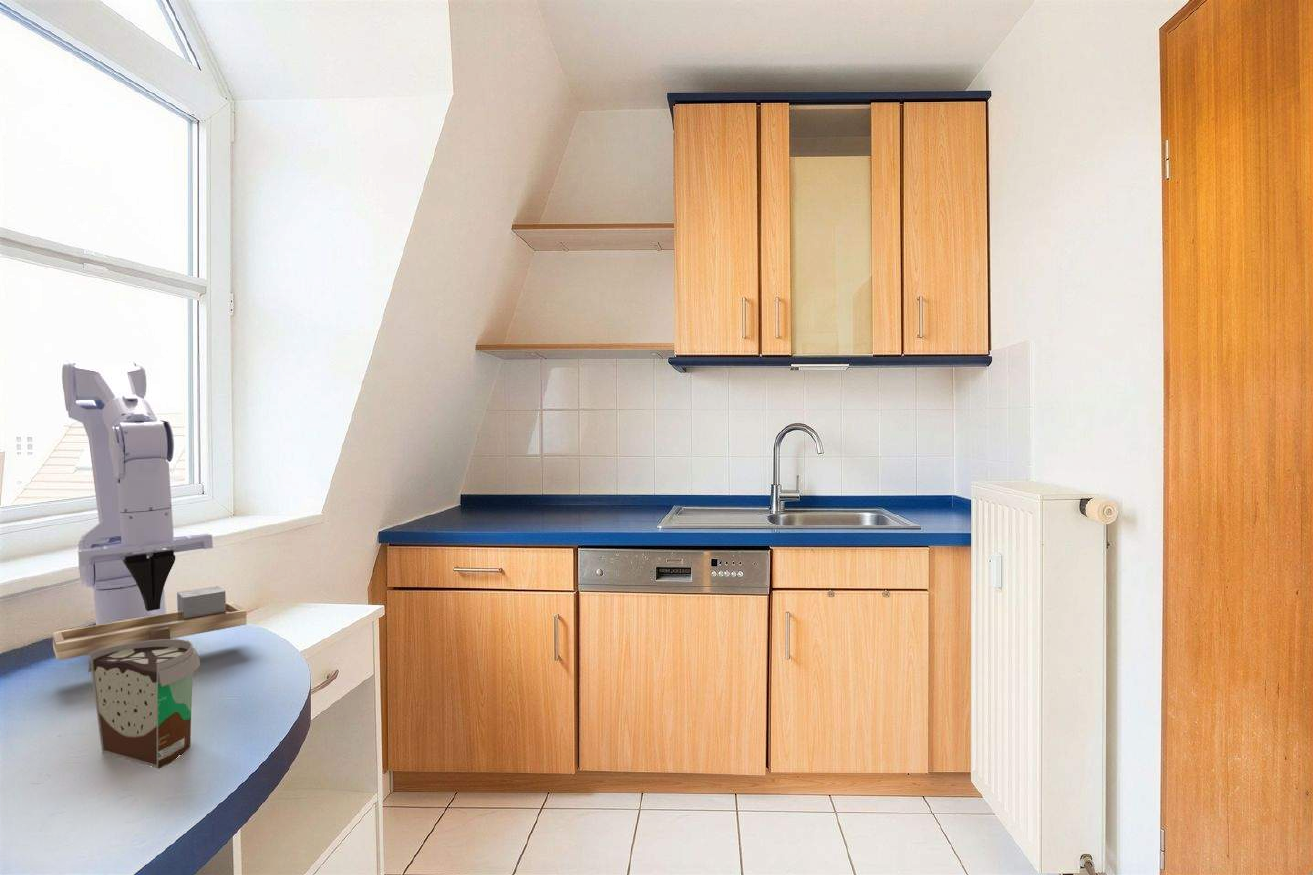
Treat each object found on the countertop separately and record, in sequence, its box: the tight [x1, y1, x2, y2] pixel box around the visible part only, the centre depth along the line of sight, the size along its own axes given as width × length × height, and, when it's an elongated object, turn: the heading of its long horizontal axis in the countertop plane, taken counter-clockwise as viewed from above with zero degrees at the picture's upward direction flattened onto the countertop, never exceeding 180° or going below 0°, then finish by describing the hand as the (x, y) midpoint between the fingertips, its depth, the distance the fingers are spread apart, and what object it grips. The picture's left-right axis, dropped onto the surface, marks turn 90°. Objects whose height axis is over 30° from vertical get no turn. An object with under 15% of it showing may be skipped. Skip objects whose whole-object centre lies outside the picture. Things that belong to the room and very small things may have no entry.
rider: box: [176, 585, 227, 621], centre depth 97 cm, size 5×5×4 cm
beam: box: [52, 601, 248, 661], centre depth 93 cm, size 20×8×2 cm, turn 134°
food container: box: [87, 638, 201, 770], centre depth 68 cm, size 12×6×10 cm, turn 65°
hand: (152, 608), depth 93 cm, fingers closed
